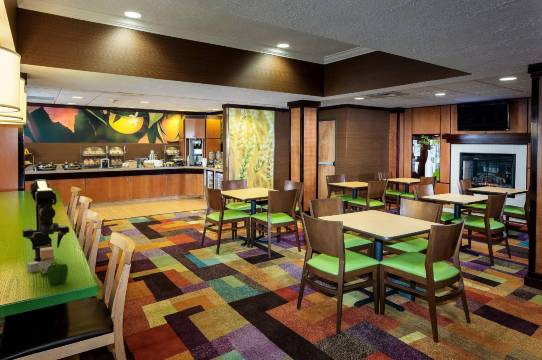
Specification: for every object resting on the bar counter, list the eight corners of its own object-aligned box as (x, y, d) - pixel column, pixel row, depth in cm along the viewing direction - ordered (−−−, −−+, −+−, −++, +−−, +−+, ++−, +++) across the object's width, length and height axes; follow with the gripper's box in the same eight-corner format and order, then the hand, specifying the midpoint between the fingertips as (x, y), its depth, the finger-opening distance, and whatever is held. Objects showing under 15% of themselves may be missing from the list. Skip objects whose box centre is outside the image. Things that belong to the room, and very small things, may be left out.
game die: (52, 279, 184) (66, 261, 186) (42, 279, 175) (57, 260, 178) (37, 269, 185) (51, 251, 187) (27, 268, 177) (42, 250, 179)
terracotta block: (40, 256, 182) (39, 248, 181) (52, 254, 185) (51, 246, 184) (41, 259, 178) (41, 250, 177) (53, 257, 181) (53, 249, 180)
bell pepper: (63, 278, 175) (62, 257, 174) (71, 282, 170) (70, 260, 169) (43, 283, 169) (42, 261, 168) (50, 287, 163) (49, 265, 162)
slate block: (27, 271, 185) (27, 262, 184) (36, 269, 188) (36, 261, 188) (30, 272, 182) (30, 264, 182) (39, 270, 185) (39, 262, 185)
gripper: (23, 221, 167) (24, 256, 169) (70, 217, 178) (71, 250, 180) (21, 217, 176) (22, 250, 178) (67, 213, 187) (67, 245, 189)
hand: (46, 249), depth 181 cm, fingers open, 9 cm apart
